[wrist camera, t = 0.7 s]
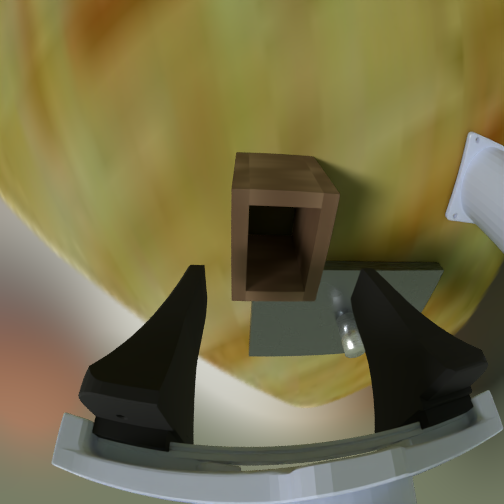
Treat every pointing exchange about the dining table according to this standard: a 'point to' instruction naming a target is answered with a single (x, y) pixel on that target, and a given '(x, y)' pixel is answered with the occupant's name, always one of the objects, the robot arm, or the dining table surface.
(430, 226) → the dining table surface
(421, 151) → the dining table surface
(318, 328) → the plate
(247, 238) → the hollow wooden block
